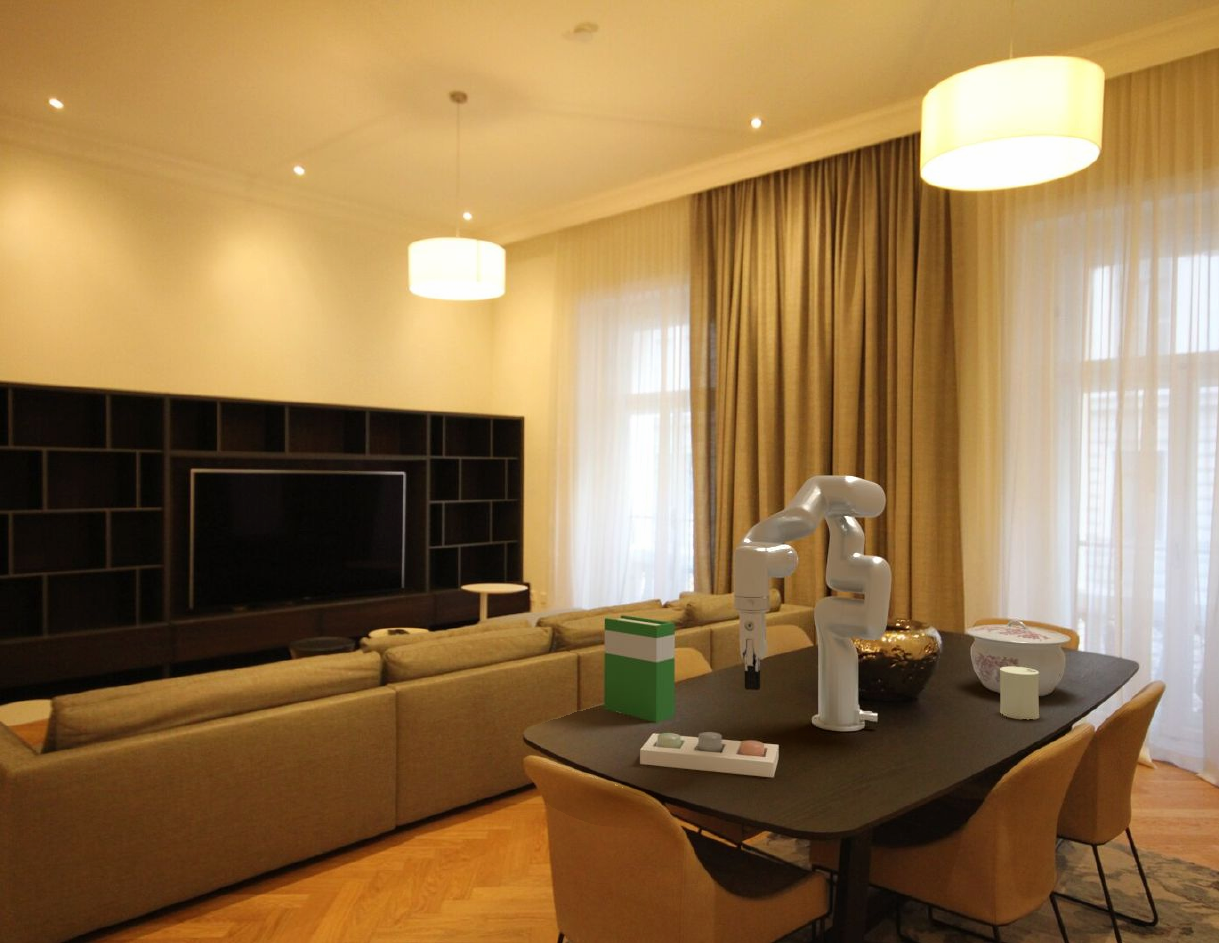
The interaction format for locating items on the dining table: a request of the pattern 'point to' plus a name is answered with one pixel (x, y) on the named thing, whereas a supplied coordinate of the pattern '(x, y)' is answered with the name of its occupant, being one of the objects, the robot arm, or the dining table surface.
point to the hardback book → (640, 667)
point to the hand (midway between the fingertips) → (752, 688)
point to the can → (1019, 692)
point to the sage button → (669, 740)
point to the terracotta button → (752, 748)
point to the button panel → (710, 757)
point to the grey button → (710, 742)
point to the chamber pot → (1017, 653)
